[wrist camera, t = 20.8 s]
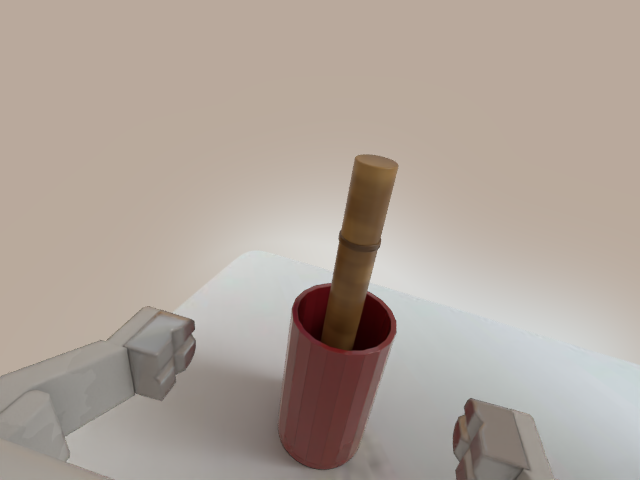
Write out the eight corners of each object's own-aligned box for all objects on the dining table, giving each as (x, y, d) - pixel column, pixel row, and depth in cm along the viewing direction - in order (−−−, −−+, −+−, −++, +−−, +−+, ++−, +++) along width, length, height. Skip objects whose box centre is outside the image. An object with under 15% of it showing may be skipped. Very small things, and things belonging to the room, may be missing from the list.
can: (321, 376, 32) (342, 273, 27) (378, 431, 28) (416, 323, 23) (260, 418, 28) (270, 305, 22) (318, 491, 24) (347, 374, 18)
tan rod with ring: (320, 402, 29) (373, 152, 19) (340, 423, 28) (409, 165, 18) (298, 419, 27) (344, 155, 17) (319, 442, 26) (381, 170, 16)
